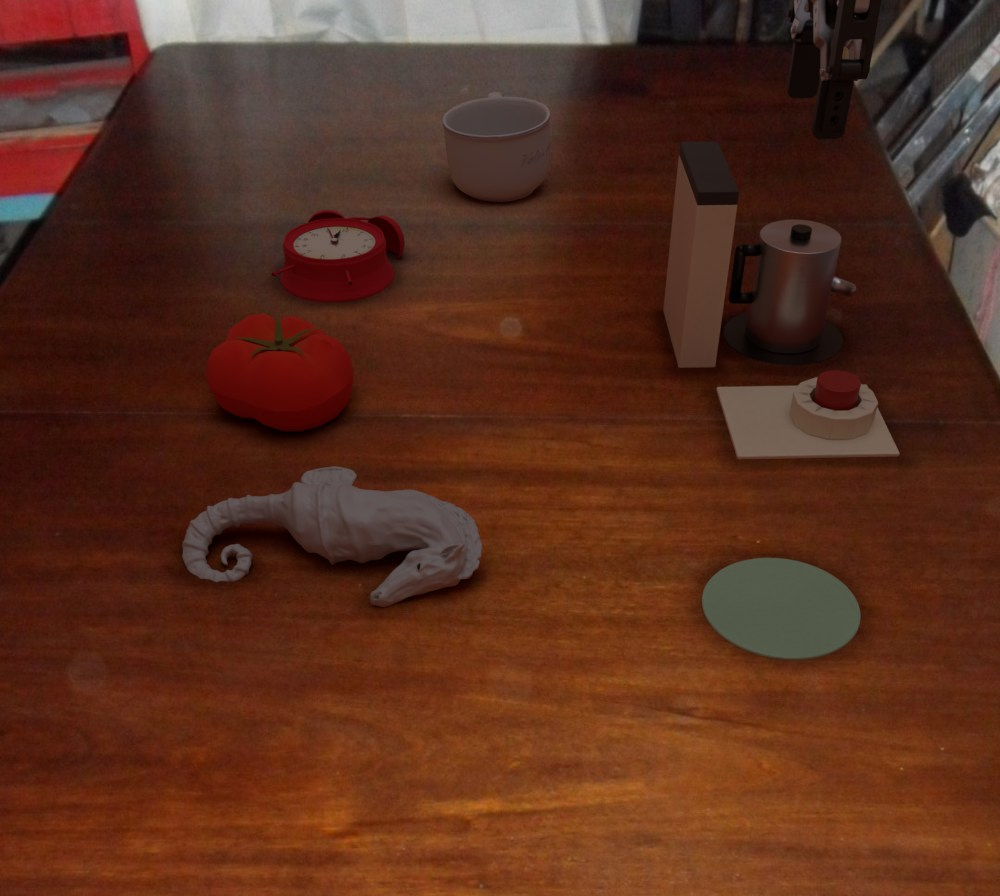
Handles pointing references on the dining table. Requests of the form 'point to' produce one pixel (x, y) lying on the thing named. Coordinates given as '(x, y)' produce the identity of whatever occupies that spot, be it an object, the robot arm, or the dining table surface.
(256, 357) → the tomato
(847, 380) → the power button
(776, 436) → the cream button base
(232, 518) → the seahorse
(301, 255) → the alarm clock
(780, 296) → the kettle
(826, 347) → the coffee maker plate
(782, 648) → the disc
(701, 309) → the tower
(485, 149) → the teacup
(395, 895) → the dining table surface
